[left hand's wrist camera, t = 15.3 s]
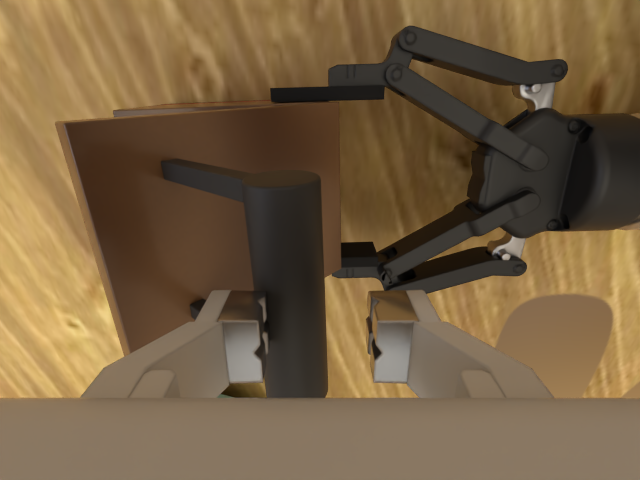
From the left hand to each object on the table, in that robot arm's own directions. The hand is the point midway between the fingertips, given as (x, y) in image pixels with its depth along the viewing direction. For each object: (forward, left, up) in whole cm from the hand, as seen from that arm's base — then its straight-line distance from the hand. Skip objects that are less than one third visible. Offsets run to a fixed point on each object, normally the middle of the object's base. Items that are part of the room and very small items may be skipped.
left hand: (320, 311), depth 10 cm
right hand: (-2, -1, -15) cm, 15 cm away
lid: (-3, -2, -8) cm, 9 cm away
